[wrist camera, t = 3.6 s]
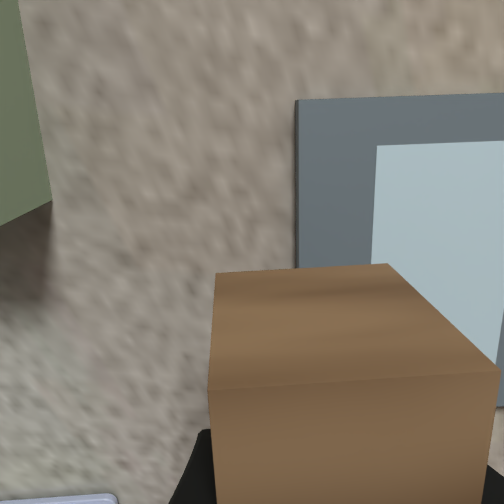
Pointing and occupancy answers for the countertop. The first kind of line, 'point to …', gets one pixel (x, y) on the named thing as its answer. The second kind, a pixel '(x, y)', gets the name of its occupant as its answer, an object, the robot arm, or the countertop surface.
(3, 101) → the green brick
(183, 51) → the countertop surface
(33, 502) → the robot arm
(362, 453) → the walnut brick
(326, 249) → the board
